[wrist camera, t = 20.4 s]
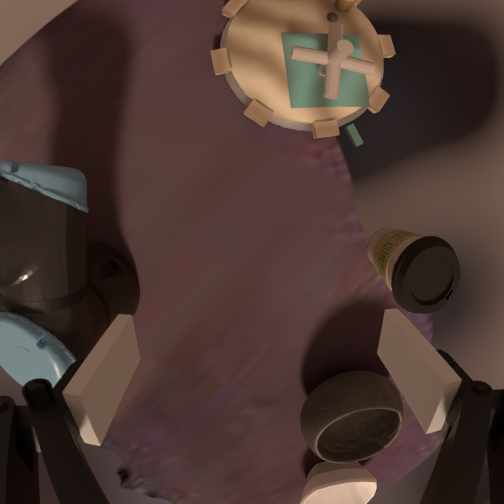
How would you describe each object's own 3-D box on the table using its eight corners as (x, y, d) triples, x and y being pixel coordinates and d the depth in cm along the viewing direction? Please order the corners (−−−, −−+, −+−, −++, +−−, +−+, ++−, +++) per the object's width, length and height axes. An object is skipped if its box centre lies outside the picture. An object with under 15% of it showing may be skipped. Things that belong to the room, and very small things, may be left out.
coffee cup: (380, 204, 46) (431, 222, 32) (421, 239, 48) (476, 267, 33) (344, 256, 48) (381, 295, 34) (387, 287, 50) (431, 331, 35)
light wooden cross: (360, 47, 36) (388, 21, 27) (356, 111, 39) (386, 99, 29) (290, 32, 36) (301, 0, 26) (283, 98, 38) (294, 79, 29)
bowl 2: (355, 486, 66) (362, 512, 57) (290, 492, 65) (293, 520, 56) (376, 447, 61) (387, 475, 52) (302, 453, 60) (308, 486, 51)
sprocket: (331, 174, 43) (351, 178, 35) (175, 74, 39) (160, 54, 30) (416, 49, 38) (445, 33, 29) (278, -43, 34) (284, -75, 25)
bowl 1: (390, 404, 57) (412, 445, 45) (308, 434, 58) (318, 480, 46) (380, 339, 52) (409, 381, 40) (283, 374, 54) (292, 424, 42)
